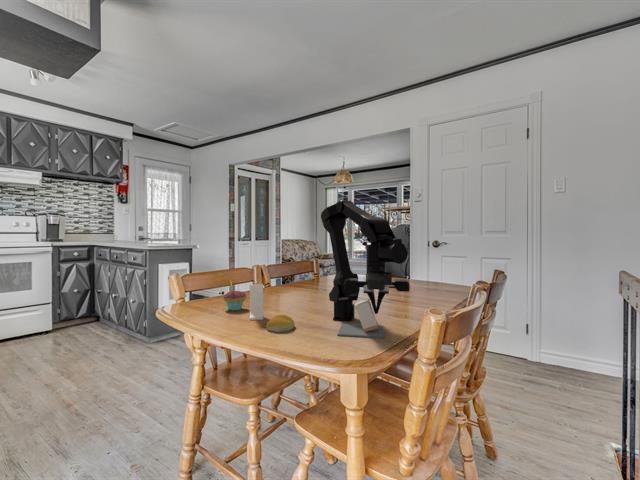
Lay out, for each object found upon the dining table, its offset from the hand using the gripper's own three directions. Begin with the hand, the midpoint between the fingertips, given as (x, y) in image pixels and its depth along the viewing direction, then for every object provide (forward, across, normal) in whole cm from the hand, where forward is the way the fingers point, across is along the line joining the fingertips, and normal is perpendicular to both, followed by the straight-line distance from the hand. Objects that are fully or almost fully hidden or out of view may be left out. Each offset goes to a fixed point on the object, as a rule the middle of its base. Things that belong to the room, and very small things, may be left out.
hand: (376, 313), depth 100 cm
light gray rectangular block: (+6, -41, +10) cm, 43 cm away
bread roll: (+6, -29, 0) cm, 30 cm away
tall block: (+4, -2, 0) cm, 5 cm away
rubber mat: (+6, -4, 0) cm, 7 cm away
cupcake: (+6, -54, +21) cm, 59 cm away
